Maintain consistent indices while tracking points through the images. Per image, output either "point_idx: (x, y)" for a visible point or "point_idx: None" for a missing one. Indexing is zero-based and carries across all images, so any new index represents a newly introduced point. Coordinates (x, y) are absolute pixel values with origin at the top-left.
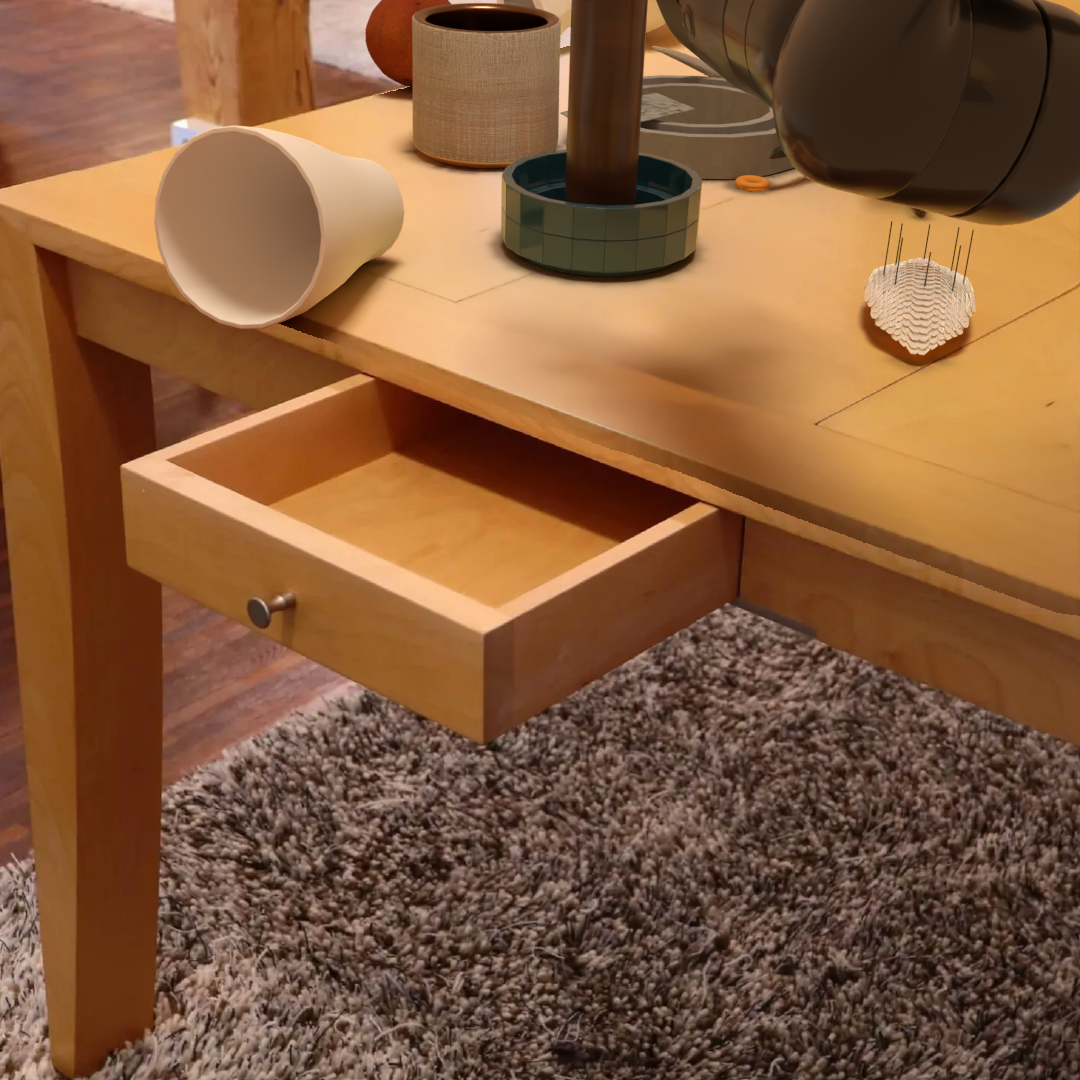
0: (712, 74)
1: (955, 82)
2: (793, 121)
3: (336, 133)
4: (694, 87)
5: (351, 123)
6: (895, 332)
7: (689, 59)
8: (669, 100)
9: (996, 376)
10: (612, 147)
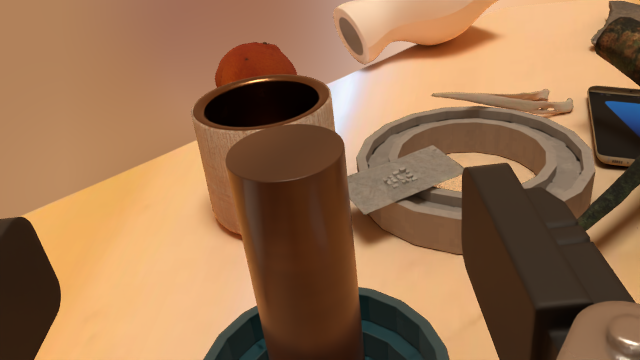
0: (491, 105)
1: None
2: None
3: (169, 181)
4: (474, 123)
5: (188, 165)
6: None
7: (469, 97)
8: (444, 157)
9: None
10: None
